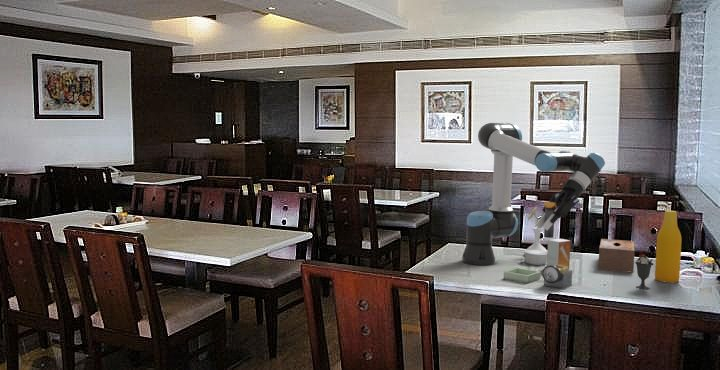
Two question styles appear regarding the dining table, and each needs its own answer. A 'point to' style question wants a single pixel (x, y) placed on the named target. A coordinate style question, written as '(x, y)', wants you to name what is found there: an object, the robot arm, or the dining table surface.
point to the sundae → (643, 269)
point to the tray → (522, 275)
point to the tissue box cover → (616, 255)
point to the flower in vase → (536, 235)
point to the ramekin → (536, 257)
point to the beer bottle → (668, 249)
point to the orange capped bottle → (548, 212)
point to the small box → (558, 252)
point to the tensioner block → (557, 276)
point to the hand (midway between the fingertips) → (541, 227)
